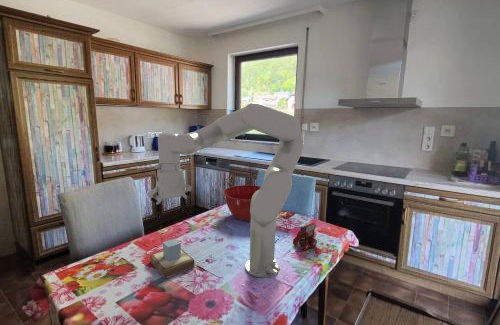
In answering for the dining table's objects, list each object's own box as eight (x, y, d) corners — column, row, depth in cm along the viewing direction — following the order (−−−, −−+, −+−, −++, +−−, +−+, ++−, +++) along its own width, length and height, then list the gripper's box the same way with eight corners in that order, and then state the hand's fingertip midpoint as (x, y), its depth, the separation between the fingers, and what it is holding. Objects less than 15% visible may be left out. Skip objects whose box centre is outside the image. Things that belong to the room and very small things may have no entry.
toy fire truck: (289, 247, 120) (290, 225, 118) (307, 239, 128) (308, 219, 126) (301, 253, 115) (302, 231, 113) (318, 245, 122) (320, 224, 121)
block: (180, 257, 103) (180, 243, 102) (168, 261, 100) (168, 247, 99) (175, 252, 107) (174, 238, 106) (163, 256, 103) (162, 242, 102)
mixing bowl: (267, 228, 139) (268, 200, 136) (216, 223, 145) (216, 196, 142) (273, 210, 166) (274, 187, 164) (230, 206, 172) (230, 183, 169)
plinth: (194, 266, 103) (194, 259, 102) (164, 278, 95) (164, 270, 94) (178, 252, 113) (178, 245, 112) (150, 261, 105) (150, 254, 105)
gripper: (150, 171, 89) (152, 219, 92) (195, 165, 100) (196, 208, 103) (142, 167, 94) (144, 212, 97) (186, 163, 106) (187, 203, 109)
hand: (171, 210), depth 100 cm, fingers open, 9 cm apart
